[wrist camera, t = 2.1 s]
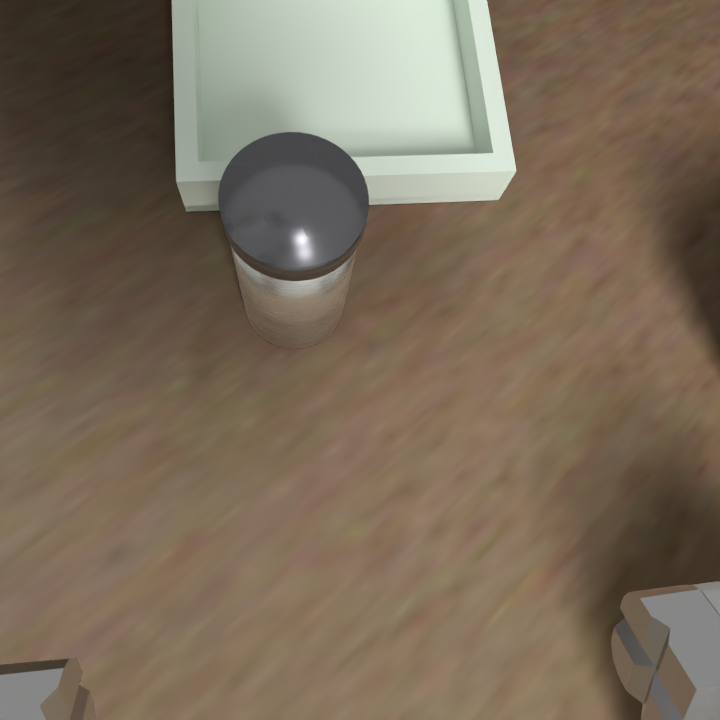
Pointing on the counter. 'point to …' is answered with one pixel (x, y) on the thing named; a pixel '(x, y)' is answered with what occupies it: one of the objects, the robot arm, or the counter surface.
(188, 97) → the tray
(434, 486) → the counter surface
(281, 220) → the shaker
